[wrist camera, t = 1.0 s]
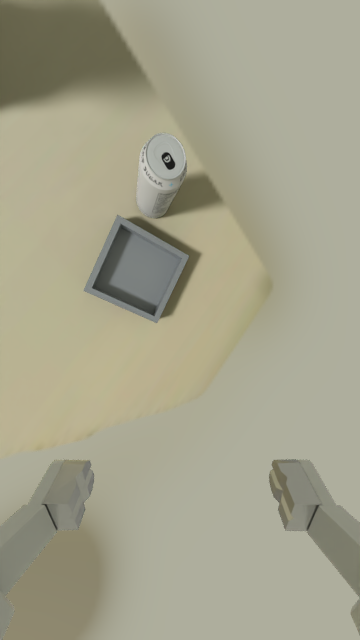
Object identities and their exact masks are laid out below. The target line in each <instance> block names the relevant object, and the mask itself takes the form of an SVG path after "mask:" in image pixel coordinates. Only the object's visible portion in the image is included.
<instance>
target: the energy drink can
mask: <svg viewBox="0 0 360 640" xmlns="http://www.w3.org/2000/svg"><path fill="white" fill-rule="evenodd" d="M186 172H187V162H186V155H185V151H184V148H183V146H182V144H181V143H180V141H179V140H178V139H177V138H175V137H174V136H172V135H170V134H167V133H159V134H156V135H154V136H153V137H152V138H151V139H150V140H148V141H147V142H146V143H145V144H144V146H143V147H142V150H141V153H140V158H139V170H138V181H137V193H136V201H137V205H138V207H139V209H140V211H141V212H142V213H143V214H144V215H146V216H148V217H150V218H158V217H161V216H163V215H164V214H165V213H166V211H167V210H168V208H169V206H170V204H171V203H172V201H173V199H174V197H175V195H176V193H177V192H178V190H179V188H180V186H181V184H182V182H183V181H184V178H185V176H186Z"/></svg>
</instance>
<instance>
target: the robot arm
mask: <svg viewBox="0 0 360 640" xmlns="http://www.w3.org/2000/svg"><path fill="white" fill-rule="evenodd" d="M90 467H91V463H90V460H54V461H53V462H52V463H51V464H50V466H49V468H48V470H47V471H46V473H45V475H44V477H43V478H42V480H41V482H40V484H39V486H38V487H37V489H36V491H35V493H34V494H33V496H32V498H31V499H30V501H29V503H28V505H23V506H22V507H21V508H20V509H19V510H18V511H16V513H14V514H13V515H12V516H11V517H10V518H9V519H7V520H6V521H5V522H4V523H3V524H2V525H1V526H0V640H2V639H3V636H4V635H5V632H6V630H7V628H8V625H9V623H10V621H11V618H12V616H13V614H14V606H13V604H12V603H11V602H10V601H9V600H8V599H7V597H6V595H7V593H8V592H9V591H10V590H11V588H12V587H13V586H14V585H15V584H16V582H17V581H18V580H19V579H20V577H21V576H22V575H23V574H24V572H25V571H26V570H27V569H28V567H29V566H30V565H31V564H32V562H33V561H34V560H35V559H36V558H37V556H38V555H39V554H40V553H41V551H42V550H43V549H44V548H45V546H46V545H47V544H48V543H49V541H50V540H51V539H52V538H53V536H54V535H55V534H56V533H57V530H78V529H79V526H80V523H81V520H82V518H83V515H84V512H85V505H84V502H85V501H86V500H87V499H88V498H89V497H90V494H91V491H92V488H93V483H94V473H93V471H92V470H91V469H90ZM272 467H273V469H272V470H271V471H270V474H269V482H270V487H271V491H272V493H273V496H274V498H275V499H276V500H277V501H278V502H279V508H278V511H279V514H280V517H281V520H282V522H283V525H284V528H285V530H287V531H307V533H308V535H309V536H310V537H311V538H312V539H313V541H314V542H315V543H316V544H317V545H318V547H319V548H320V549H321V551H322V552H323V553H324V554H325V556H326V557H327V558H328V559H329V560H330V562H331V563H332V564H333V565H334V566H335V568H336V569H337V570H338V572H339V573H340V574H341V575H342V576H343V578H344V579H345V580H346V581H347V583H348V584H349V585H350V586H351V588H352V589H353V590H354V591H355V592H356V594H357V595H358V596H359V600H358V601H357V602H356V603H355V605H354V606H353V607H352V609H351V616H352V618H353V621H354V623H355V625H356V627H357V630H358V632H359V634H360V523H359V522H358V521H357V520H356V519H355V518H354V517H353V516H351V515H350V514H349V513H348V512H347V511H346V510H345V509H344V508H343V507H341V506H340V505H336V504H335V502H334V500H333V498H332V497H331V495H330V493H329V492H328V490H327V488H326V486H325V484H324V483H323V481H322V479H321V478H320V476H319V474H318V472H317V470H316V469H315V467H314V465H313V464H312V462H311V461H310V460H296V459H295V460H294V459H292V460H274V461H273V462H272Z"/></svg>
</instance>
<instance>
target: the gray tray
mask: <svg viewBox="0 0 360 640" xmlns="http://www.w3.org/2000/svg"><path fill="white" fill-rule="evenodd" d="M188 258H189V255H187V254H185V253H183V252H182V251H180V250H178V249H176V248H175V247H173V246H171V245H169V244H168V243H166V242H164V241H162V240H161V239H159V238H157V237H156V236H154V235H152V234H150V233H149V232H147V231H145V230H143V229H142V228H140V227H138V226H136V225H135V224H133V223H131V222H129V221H128V220H126V219H124V218H122V217H121V216H119V215H117V217H116V219H115V221H114V224H113V226H112V228H111V230H110V233H109V235H108V237H107V239H106V242H105V244H104V246H103V248H102V251H101V253H100V255H99V257H98V259H97V262H96V264H95V266H94V268H93V271H92V273H91V275H90V277H89V280H88V282H87V284H86V286H85V288H84V291H85V292H87V293H90V294H92V295H94V296H97V297H99V298H101V299H103V300H106V301H108V302H110V303H112V304H115V305H117V306H119V307H121V308H124V309H126V310H128V311H131V312H133V313H135V314H137V315H140V316H142V317H144V318H146V319H149V320H151V321H153V322H155V323H157V322H158V320H159V318H160V316H161V314H162V312H163V310H164V308H165V306H166V304H167V301H168V299H169V297H170V295H171V293H172V291H173V289H174V287H175V285H176V283H177V281H178V279H179V276H180V274H181V272H182V270H183V268H184V266H185V264H186V262H187V260H188Z"/></svg>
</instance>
